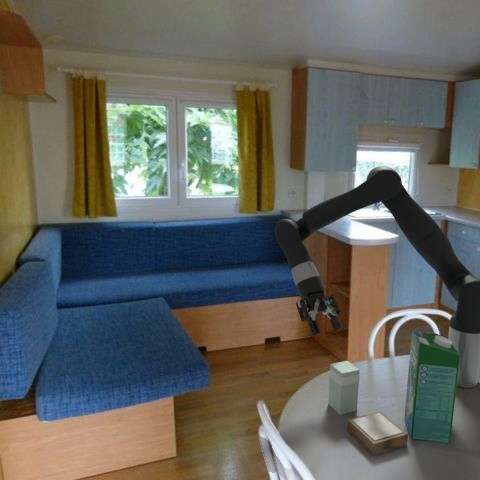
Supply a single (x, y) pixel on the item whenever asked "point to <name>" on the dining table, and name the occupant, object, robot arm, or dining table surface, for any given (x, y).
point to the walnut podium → (377, 433)
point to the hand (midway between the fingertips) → (328, 332)
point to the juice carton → (343, 387)
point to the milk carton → (431, 387)
